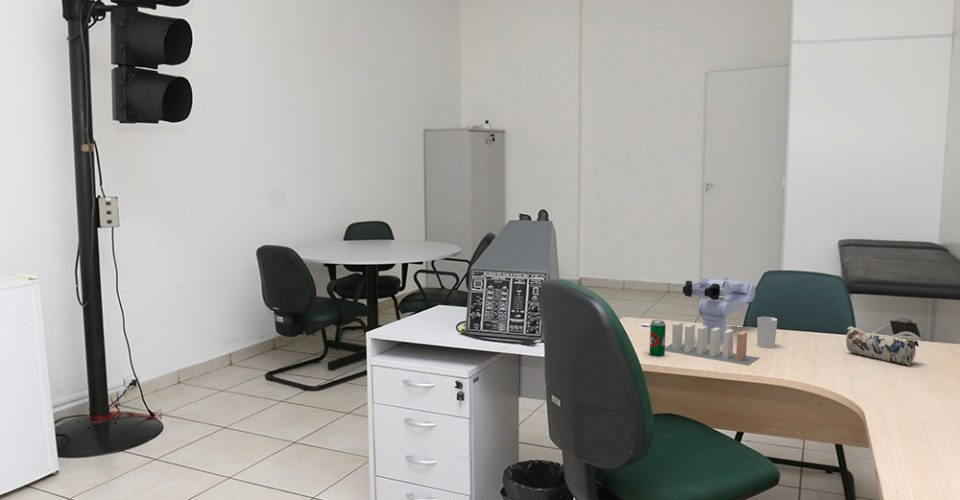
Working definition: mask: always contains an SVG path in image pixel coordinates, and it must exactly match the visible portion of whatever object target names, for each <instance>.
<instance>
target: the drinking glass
mask: <svg viewBox="0 0 960 500" xmlns="http://www.w3.org/2000/svg"><path fill="white" fill-rule="evenodd" d="M756 322H757V337H756V338H757V340H756V341H757V342H756V343H757V345H756V346H758V347H760V348H766V349H773V348H775V347H776V345H775V344H776V335H777V328H778V327H777V326H778V319H777V318H775V317H772V316H771V317H770V316H758V317H757V321H756Z"/></svg>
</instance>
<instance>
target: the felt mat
mask: <svg viewBox="0 0 960 500" xmlns="http://www.w3.org/2000/svg"><path fill="white" fill-rule="evenodd" d="M665 352H667V353H674V354H680V355H684V356H685V355H686V356H691V357H697V358H701V359H708V360H715V361H719V362H720V361H721V362H725V363H731V364H737V365H743V366H751V365H752V364H753V363H755V362H757V361H759V359H761V357H757V356H754V355H753V356H752V355H747V354H746V358H745V359H744V360H742V361H736V352H735V353H734V352H733V356H731V357H730V358H728V359H725V358H723V350H720V354H718V355H716V356H714V357H713V356H710V348H707V352H705V353H703V354H697V346H694V350H692V351H690V352H684V344H682V348H680V349H678V350H672V343H671V344H669V345H667V346H665Z"/></svg>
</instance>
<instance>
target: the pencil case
mask: <svg viewBox="0 0 960 500" xmlns="http://www.w3.org/2000/svg"><path fill="white" fill-rule="evenodd" d="M847 330H848V332H847V333H846V338H845V344H846V348H847V350H848V351H850V352H851V353H853V354H856V355H860V356H863V355H864V356H865V357H867V356H868V358H871V357H874V358H873V359H876V358H879V359H878V360H880V359H884V360H889V361H888V362H890V361H893V363H896V362H898V363H897V364H899V363H904V364H908V365H907V366H911V365H910V364H912V363H913V362H914V359H915V356H916V347H919V346H920V345H919V341H918V340H913V339H912V336H909V337H905V336H902V335H900V336H895V335H887V334H880V333H876V332H875V333H874V332H873V333H872V332H868V331H867V332H866V331H864V330H861V329H858V328H857V327H854V326H849V327H847ZM884 360H883V361H884ZM904 364H903V365H904ZM913 364H914V363H913ZM913 364H912V365H913Z"/></svg>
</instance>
